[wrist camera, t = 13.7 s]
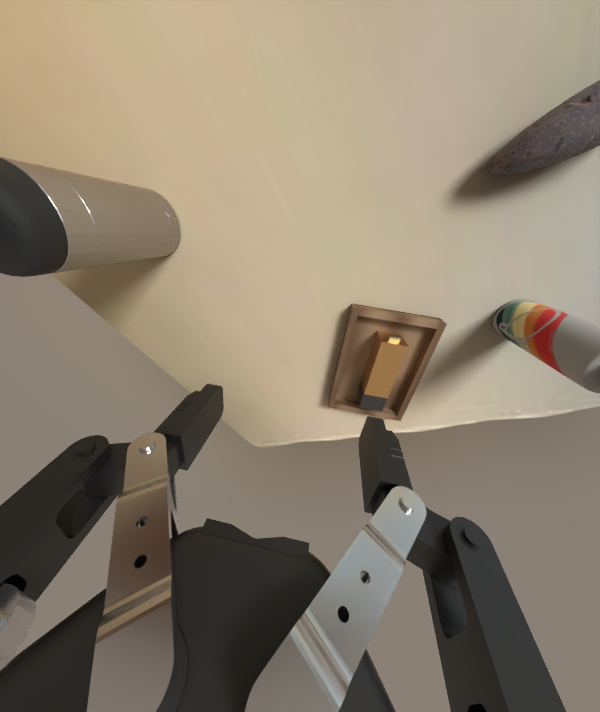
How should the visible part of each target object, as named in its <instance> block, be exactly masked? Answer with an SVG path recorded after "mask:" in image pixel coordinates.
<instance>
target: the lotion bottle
mask: <svg viewBox="0 0 600 712" xmlns="http://www.w3.org/2000/svg"><path fill="white" fill-rule="evenodd" d="M493 326H494V329H495V330H496V331H497V332H498V333H499V334H501V335H502V336H504V337H505V338H507V339H508V340H510V341H511V342H513V343H514V344H516V345H518V346H519V347H521V348H522V349H524V350H525V351H527V352H528V353H530V354H532V355H533V356H535V357H536V358H538V359H539V360H541V361H543V362H544V363H546V364H547V365H549V366H550V367H552V368H553V369H555V370H557V371H558V372H560V373H561V374H563V375H564V376H566V377H568V378H569V379H571V380H572V381H574V382H575V383H577V384H579V385H580V386H582V387H584V388H585V389H587V390H589V391H592V392H595V393H600V325H597V324H594V323H591V322H589V321H586V320H583V319H580V318H578V317H575V316H572V315H569V314H566V313H564V312H561V311H558V310H555V309H553V308H550V307H547V306H544V305H542V304H539V303H536V302H533V301H529V300H515V301H512V302H510V303H508V304H506V305H504V306H503V307H502V308H500V309H499V310H498V312H497V313H496V315H495V316H494V319H493Z"/></svg>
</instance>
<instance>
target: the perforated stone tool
mask: <svg viewBox="0 0 600 712" xmlns="http://www.w3.org/2000/svg"><path fill="white" fill-rule="evenodd" d="M599 145H600V80H599V81H597V82H596V83H594V84H592V85H591V86H589V87H587V88H585V89H584V90H582V91H580V92H579V93H577V94H576V95H574V96H572V97H571V98H569V99H568V100H566V101H565V102H563V103H562V104H560V105H559V106H557V107H556V108H554V109H553V110H551V111H550V112H548V113H547V114H546V115H544V116H543V117H541V118H540V119H539V120H537V121H536V122H534V123H533V124H532V125H530V126H529V127H527V128H526V129H525V130H524V131H522V132H521V133H520V134H518V135H517V136H516V137H515V138H514V139H513V140H511V141H510V142H509V143H508V144H507V145H506V146H505V147H504V148H503V149H502V150H501V151H500V152H499V153H498V154H497V155H496V156H495V157H494V158H493V160H492V161H491V163H490V164H489V166H488V167H487V170H488V172H489V173H491V174H494V175H510V174H517V173H523V172H528V171H532V170H536V169H539V168H542V167H545V166H548V165H550V164H553V163H556V162H559V161H562V160H564V159H567V158H569V157H572V156H575V155H577V154H580V153H582V152H585V151H587V150H590V149H592V148H595V147H597V146H599Z"/></svg>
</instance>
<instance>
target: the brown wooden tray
mask: <svg viewBox="0 0 600 712" xmlns="http://www.w3.org/2000/svg"><path fill="white" fill-rule="evenodd" d="M446 325H447V324H446V323H445V322H444V321H442V320H441V319H440V318H434V317H428V316H422V315H416V314H410V313H404V312H398V311H392V310H387V309H381V308H375V307H369V306H363V305H357V304H352V306H351V310H350V314H349V318H348V322H347V326H346V330H345V334H344V338H343V342H342V347H341V351H340V355H339V359H338V363H337V367H336V371H335V375H334V379H333V383H332V387H331V391H330V395H329V402H328V407H333V408H338V409H343V410H348V411H353V412H358V413H363V414H368V415H373V416H378V417H383V418H388V419H393V420H398V421H401V419H402V417H403V415H404V413H405V410H406V408H407V406H408V404H409V402H410V400H411V398H412V396H413V394H414V392H415V389H416V387H417V385H418V383H419V381H420V379H421V377H422V375H423V373H424V371H425V369H426V366H427V364H428V362H429V360H430V358H431V356H432V354H433V352H434V350H435V348H436V345H437V343H438V341H439V339H440V337H441V335H442V333H443V331H444V329H445V327H446ZM377 330H378V331H384V332H389V333H395V334H401V335H402V336H403V338H404V339H405V341H406V343H407V344H408V346H409V347H408V350H407V352H406V355H405V357H404V360H403V362H402V365H401V367H400V369H399V372H398V374H397V377H396V379H395V382H394V384H393V387H392V389H391V391H390V394H389V396H388V399H387V401H386V404H385V406H384V409H383V411H382V412H381V411H376V410H371V409H366V408H361V407H359V399H358V389H359V386H360V383H361V380H362V377H363V373H364V370H365V367H366V364H367V361H368V358H369V355H370V352H371V348H372V345H373V342H374V339H375V336H376V333H377Z"/></svg>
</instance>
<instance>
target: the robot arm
mask: <svg viewBox="0 0 600 712" xmlns="http://www.w3.org/2000/svg"><path fill="white" fill-rule="evenodd" d="M179 240H180V227H179V222H178V219H177V216H176V214H175V212H174V210H173V209H172V207H171V206H170V204H169V203H168V202H167V201H166V200H165V199H164V198H163V197H162V196H161V195H159V194H158V193H156V192H154V191H152V190H149V189H145V188H140V187H136V186H131V185H127V184H122V183H118V182H113V181H109V180H104V179H100V178H95V177H90V176H86V175H81V174H77V173H72V172H68V171H63V170H59V169H54V168H49V167H45V166H40V165H36V164H30V163H26V162H21V161H16V160H12V159H7V158H3V157H0V273H3V274H7V275H11V276H22V277H24V276H36V275H42V274H49V273H56V272H63V271H70V270H76V269H82V268H89V267H96V266H103V265H110V264H116V263H123V262H130V261H137V260H144V259H151V258H158V257H165V256H168V255H170V254H172V253H173V252H174V251H175V250H176V248H177V246H178V244H179ZM222 413H223V389H222V386H218V385H213V384H207V385H205V387H204V388H203V389H202V390H201V391H200V392H199V391H195V392H193V393H191V394H190V395H188V396H187V397H186V398H185V399H184V400H183V401H182V402H181V404H179V405H178V406H177V408H175V410H174V411H173V412H172V413H171V414H170V415H169V416H168V417H167V418H166V419H165V420H164V422H163V423H162V424H161V425H160V426H159V427H158V428H157V429H156V430H155V431H154V432H153V433H147V434H144V435H142V436H140V437H138V438H136V439H135V440H134V441H132V442H131V443H117V444H109V442H108V440H107V438H105V437H104V436H100V435H95V436H89V437H86V438H83V439H80V440H79V441H77V442H75V443H73V444H72V445H71V446H69V447H68V448H67V449H66V450H65V451H64V452H62V453H61V454H60V455H59V456H58V457H57V458H55V459H54V460H53V461H52V462H51V463H50V464H48V465H47V466H46V467H45V468H44V469H43V470H41V471H40V472H39V473H38V474H37V475H36V476H34V477H33V478H32V479H31V480H30V481H29V482H27V483H26V484H25V485H24V486H23V487H22V488H20V489H19V490H18V491H17V492H16V493H15V494H13V495H12V496H11V497H10V498H9V499H8V500H7V501H5V502H4V503H3V504H2V505H1V506H0V712H396V711H395V709H394V707H393V705H392V703H391V701H390V699H389V696H388V694H387V692H386V690H385V688H384V686H383V683H382V682H381V679H380V677H379V675H378V673H377V671H376V668H375V666H374V664H373V662H372V660H371V658H370V656H369V654H368V651H367V649H366V648H367V646H368V643H369V641H370V639H371V637H372V635H373V633H374V631H375V629H376V627H377V625H378V622H379V620H380V618H381V616H382V614H383V612H384V610H385V608H386V606H387V603H388V601H389V599H390V597H391V595H392V593H393V591H394V588H395V587H396V585H397V582H398V580H399V578H400V576H401V574H402V572H403V569H404V567H405V560H406V559H407V560H408V561H410V562H411V563H413V564H415V565H416V566H418V567H419V568H421V569H422V570H423V575H424V579H425V584H426V589H427V594H428V599H429V604H430V609H431V614H432V619H433V624H434V629H435V634H436V639H437V644H438V649H439V654H440V659H441V664H442V669H443V674H444V679H445V684H446V689H447V694H448V699H449V704H450V709H451V712H566V710H565V708H564V706H563V703H562V701H561V699H560V697H559V694H558V692H557V690H556V688H555V685H554V683H553V681H552V679H551V676H550V674H549V672H548V669H547V667H546V665H545V663H544V660H543V659H542V656H541V654H540V651H539V649H538V647H537V645H536V642H535V640H534V638H533V636H532V633H531V631H530V629H529V626H528V624H527V622H526V620H525V617H524V615H523V613H522V611H521V608H520V606H519V604H518V602H517V599H516V597H515V595H514V593H513V590H512V588H511V586H510V583H509V581H508V579H507V577H506V574H505V572H504V570H503V568H502V566H501V563H500V561H499V559H498V556H497V554H496V552H495V550H494V547H493V545H492V543H491V541H490V539H489V538H488V536H487V535H486V534H485V532H484V531H483V530H482V529H481V528H480V527H479V526H477V525H476V524H475V523H473V522H472V521H470V520H468V519H466V518H463V517H455V518H453V519H452V520H451V521H449V520H447V519H445V518H443V517H442V516H440V515H438V514H436V513H434V512H432V511H431V510H429V509H428V508H426V507H425V505H424V503H423V501H422V500H421V499H420V497H419V496H418V495H417V494H416V493H415V492H413V489H412V486H411V483H410V479H409V475H408V472H407V468H406V465H405V462H404V459H403V454H402V452H401V447H400V444H399V440H398V439H397V438H396V436H395V435H394V433H393V432H392V431H388V430H386V428H385V424H384V420H383V419H380V418H375V417H370V416H368V417H367V419H366V421H365V424H364V427H363V429H362V432H361V435H360V438H359V456H360V467H361V478H362V488H363V500H364V510H365V512H367V513H372V515H373V517H372V519H371V520H370V521H369V523H368V524H367V525H366V526H365V527H364V528H363V530H362V531H361V533H360V534H359V535H358V537H357V538H356V540H355V541H354V542H353V544H352V545H351V547H350V548H349V550H348V551H347V552H346V554H345V555H344V557H343V558H342V560H341V561H340V562H339V564H338V565H337V567H336V568H335V570H334V571H333V572H332V574H330V572H329V571H328V569H327V568H326V567H325V566H324V564H323V563H322V562H321V561H320V560H319V559H318V558H316V557H315V556H314V555H313V554H311V553H310V552H308V549H309V543H307V542H303V541H298V540H294V539H290V538H286V537H275V538H261V539H255V538H253V537H251V536H249V535H248V534H246V533H245V532H243V531H241V530H240V529H238V528H237V527H235V526H233V525H232V524H228V523H223V522H220V521H216V520H211V519H207V520H206V522H205V524H204V526H203V527H197V528H193V529H190V530H187V531H184V532H182V533H181V532H180V524H179V518H178V509H177V497H176V485H175V477H174V476H175V474H176V473H177V471H178V470H179V469H183V470H188V469H189V467H190V465H191V464H192V462H193V461H194V459H195V458H196V456H197V454H198V453H199V451H200V450H201V448H202V446H203V445H204V443H205V442H206V440H207V439H208V437H209V435H210V434H211V432H212V430H213V429H214V427H215V425H216V424H217V423H218V421H219V419H220V418H221V416H222ZM117 495H118V498H117V503H116V511H115V519H114V529H113V537H112V545H111V553H110V562H109V570H108V580H107V588H105V589H104V590H103V591H101V592H100V593H99V594H97V595H96V596H95V597H93V598H92V599H91V600H89V601H88V602H87V603H86V604H84V605H83V606H82V607H80V608H79V609H78V610H76V611H75V612H74V613H72V614H71V615H70V616H68V617H67V618H66V619H64V620H63V621H62V622H60V623H59V624H58V625H56V626H55V627H54V628H52V629H51V630H50V631H49V632H47V633H46V634H45V635H43V636H42V637H41V638H39V639H38V640H37V641H35V642H34V643H33V644H31V645H30V646H29V647H27V648H26V649H25V650H23V651H22V652H21V653H20V654H18V655H17V656H16V657H15V653H16V651H17V648H18V647H19V646H20V644H21V643H22V642H23V641H24V639H25V638H26V636H27V633H28V629H29V628H30V626H31V623H32V622H33V619H34V616H35V612H36V605H35V602H36V600H37V599H38V598H39V597H40V595H41V594H42V593H43V591H44V590H45V588H47V586H48V585H49V584H50V582H51V581H52V580H53V578H54V577H55V576H56V574H57V573H58V572H59V571H60V569H61V568H62V567H63V565H64V564H65V563H66V562H67V560H68V559H69V558H70V556H71V555H72V554H73V552H74V551H75V550H76V549H77V547H78V546H79V545H80V543H81V541H83V539H84V538H85V537H86V536H87V534H88V533H89V532H90V530H91V529H92V528H93V527H94V525H95V524H96V523H97V521H98V520H99V518H100V517H101V516H102V515H103V513H104V512H105V511H106V510H107V508H108V507H109V506H110V504H111V503H112V502H113V500H114V499H115V498H116V497H117ZM14 657H15V658H14Z"/></svg>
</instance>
